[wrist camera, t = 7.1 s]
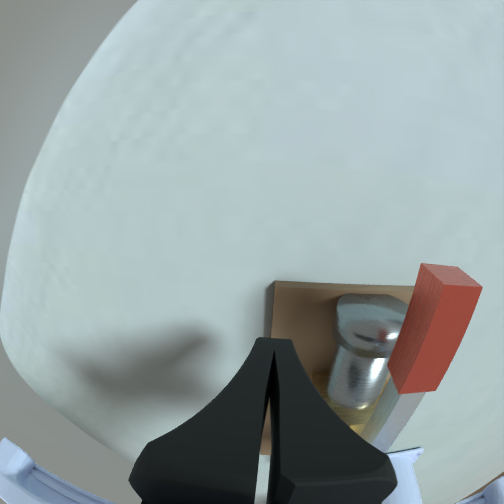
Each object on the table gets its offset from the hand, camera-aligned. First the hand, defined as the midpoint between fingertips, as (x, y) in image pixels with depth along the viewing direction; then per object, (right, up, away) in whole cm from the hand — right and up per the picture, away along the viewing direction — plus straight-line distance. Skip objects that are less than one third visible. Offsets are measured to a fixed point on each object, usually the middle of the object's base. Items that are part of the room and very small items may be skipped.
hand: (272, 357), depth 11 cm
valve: (+6, -6, +8) cm, 12 cm away
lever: (+6, -3, 0) cm, 6 cm away
